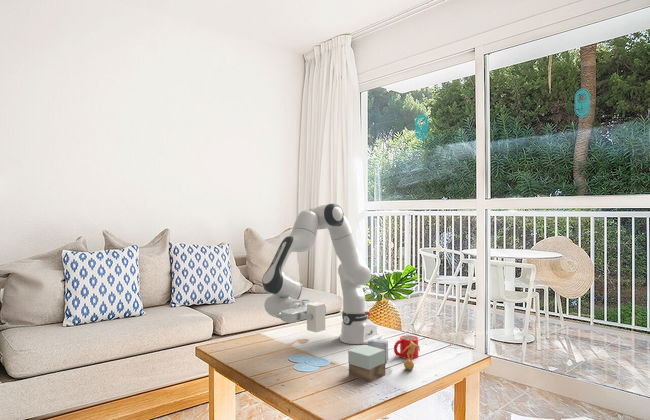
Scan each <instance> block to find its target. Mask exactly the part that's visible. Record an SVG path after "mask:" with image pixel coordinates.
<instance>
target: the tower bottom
mask: <svg viewBox="0 0 650 420" xmlns="http://www.w3.org/2000/svg"><path fill="white" fill-rule="evenodd" d="M348 376H349V377H352V378H355V379H357V380H361V381H363V382H366V383H371V382H374V381H376V380H378V379H380V378H382V377H385V376H386V363H383V364H381V365H379V366H376V367H374V368H372V369H370V370H368V369H365V368H362V367H358V366H355V365H352V364H348Z"/></svg>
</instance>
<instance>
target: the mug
mask: <svg viewBox="0 0 650 420" xmlns="http://www.w3.org/2000/svg"><path fill="white" fill-rule="evenodd" d="M410 341H412V342H413V343H414V344H416V345H418V346H419V337H418V336H415V335H400V336H399V339H398V340H396V342H395V343H394V345H393V352H394V354H395V355H396V356H397V357H401V358H404V359H408V356H407V353H408V351H409V350H410V347H409V348H407V349H406V350H405V351H404V352H403V350H404V349H405V348H406V347H407V346H409V345H410ZM398 346H399V351H398ZM402 352H403V353H402ZM412 355H413V358H412V357H411V353H410V354H409V356H410V359H411V358H412V360H414V359H417V358H419V351H418V347H417V346H416V347H415V349H414V353H413V354H412Z"/></svg>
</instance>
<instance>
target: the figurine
mask: <svg viewBox="0 0 650 420" xmlns="http://www.w3.org/2000/svg"><path fill="white" fill-rule="evenodd" d="M416 346H417V347H418V353H419V352H420V351H421V349H420V348H421V347H420V345H419V344H418V345H416V344H414V343H413V342H412V341H410V345H409V346H407V347H406V348H405V349H404V350H403V352H404V351H405V350H406V349H407V348H409V347H410V350H409V351H408V353H407V356H408V358H406V359H405V360H404V361H403V367H404V368H405V369H406V370H408V371H411V370H413V368H414V367H415V363H414V361H413V359H412V358H413V355H412V354H413V353H414V349H415V347H416ZM403 352H402V353H403ZM410 353H411V357H412V358H411V359H410V356H409V354H410Z"/></svg>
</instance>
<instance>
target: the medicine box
mask: <svg viewBox="0 0 650 420" xmlns="http://www.w3.org/2000/svg"><path fill="white" fill-rule="evenodd" d="M367 345H368V346H372V347H375V348H379V349H383V350H385V364H387V363H388V361H389V340H388V339H381V338H379V339H370V340H369V341H368V344H367Z"/></svg>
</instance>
